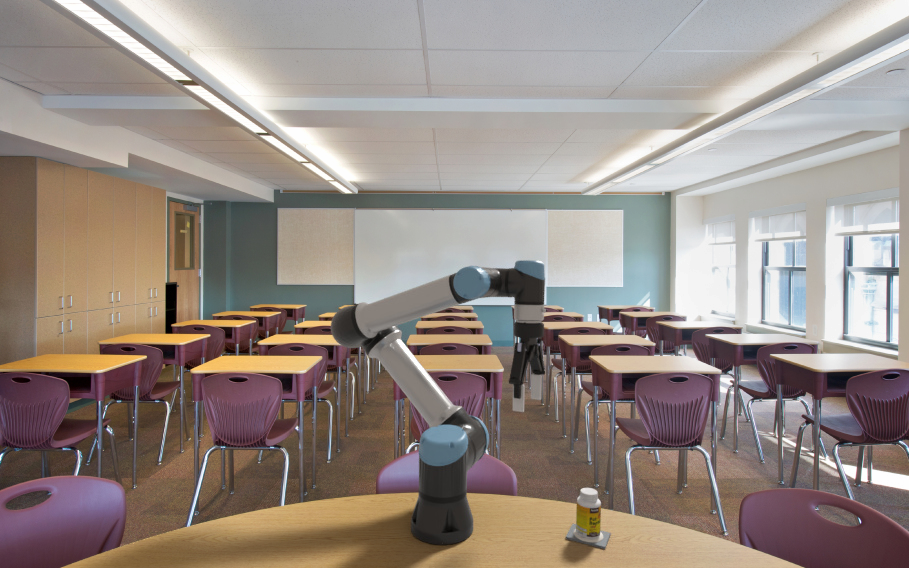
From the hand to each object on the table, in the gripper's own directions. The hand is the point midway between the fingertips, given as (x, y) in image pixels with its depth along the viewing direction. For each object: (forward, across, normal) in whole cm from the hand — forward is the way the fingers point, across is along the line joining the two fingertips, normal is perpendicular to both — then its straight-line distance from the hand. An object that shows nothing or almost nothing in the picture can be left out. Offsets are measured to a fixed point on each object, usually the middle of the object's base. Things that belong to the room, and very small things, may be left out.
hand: (527, 405), depth 122 cm
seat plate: (+29, -2, -16) cm, 33 cm away
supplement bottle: (+28, -2, -16) cm, 33 cm away
